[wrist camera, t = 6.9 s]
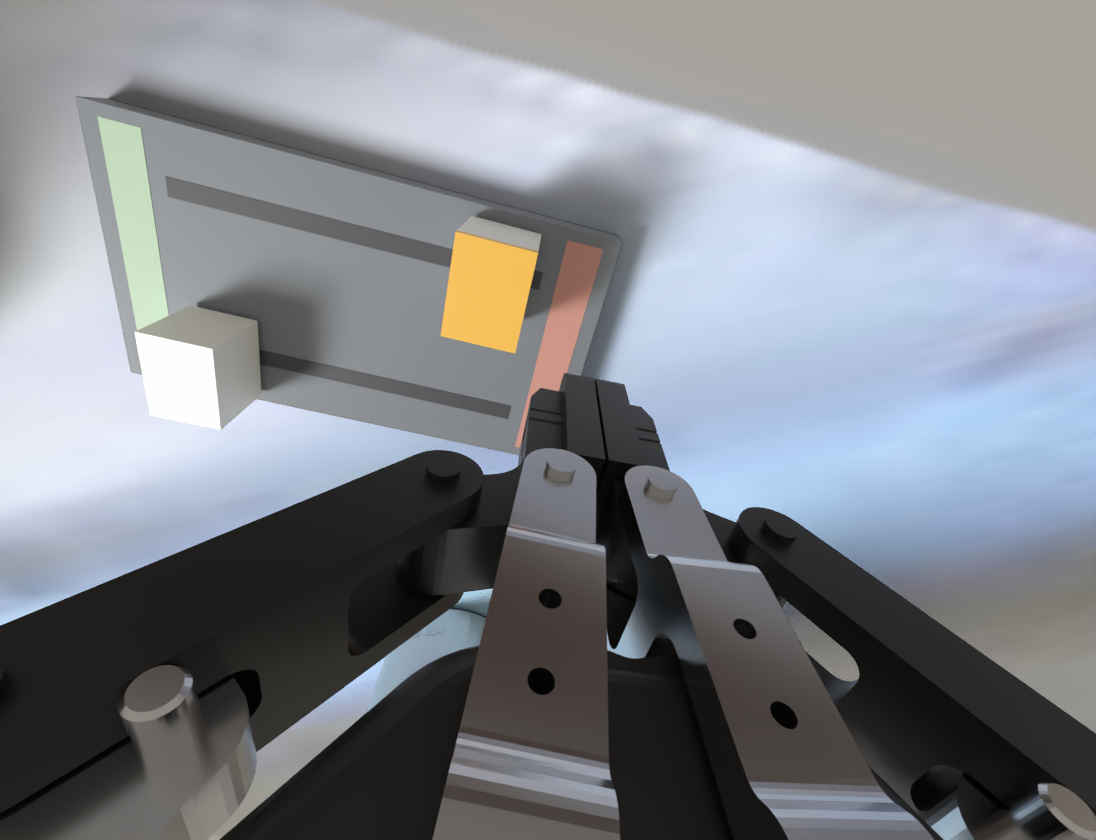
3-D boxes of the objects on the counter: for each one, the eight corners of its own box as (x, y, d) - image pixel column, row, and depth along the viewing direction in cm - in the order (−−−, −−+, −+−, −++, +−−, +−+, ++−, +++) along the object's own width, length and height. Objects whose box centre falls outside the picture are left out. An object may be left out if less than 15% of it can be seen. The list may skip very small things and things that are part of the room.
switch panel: (618, 235, 23) (622, 242, 21) (554, 447, 28) (553, 462, 27) (106, 98, 20) (75, 96, 19) (152, 360, 26) (130, 372, 25)
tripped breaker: (541, 234, 21) (538, 252, 18) (521, 322, 23) (515, 353, 20) (471, 215, 21) (455, 231, 17) (457, 306, 23) (440, 336, 19)
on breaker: (257, 320, 23) (212, 349, 20) (261, 394, 25) (220, 430, 22) (190, 305, 23) (134, 331, 20) (199, 380, 25) (150, 415, 22)
